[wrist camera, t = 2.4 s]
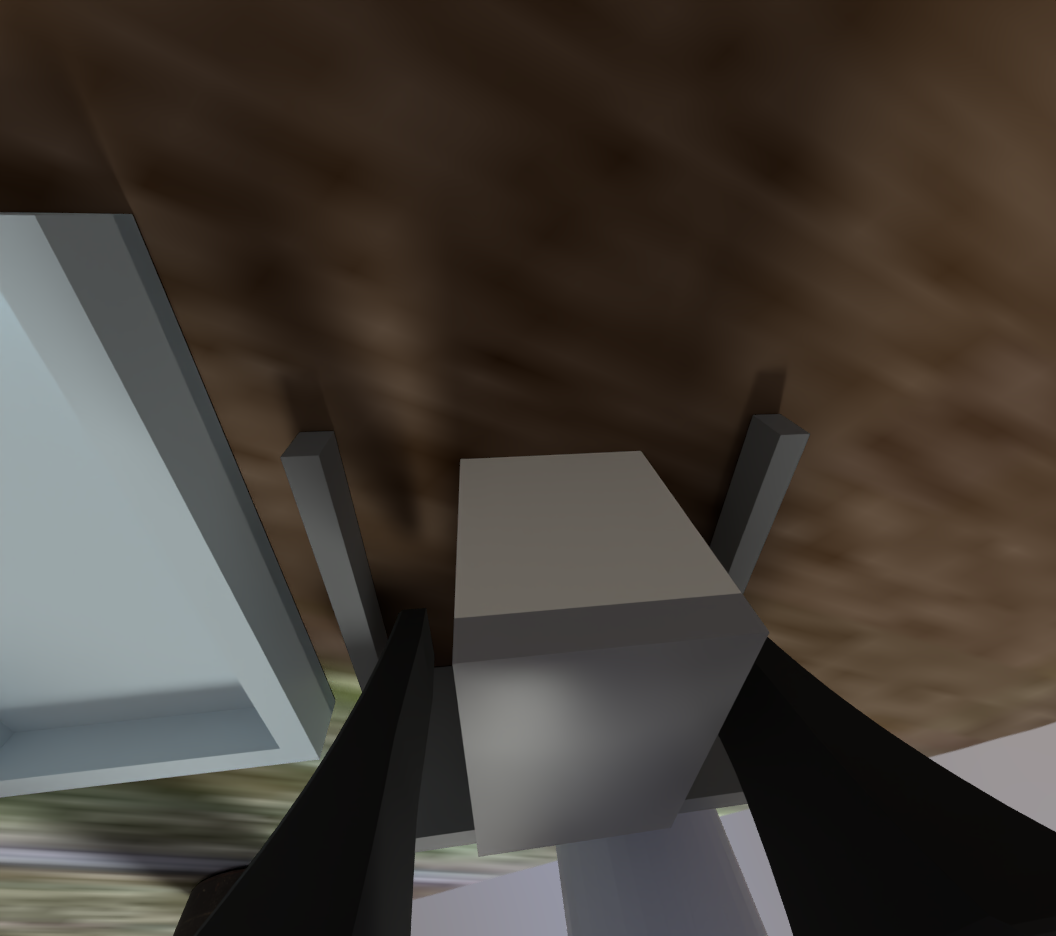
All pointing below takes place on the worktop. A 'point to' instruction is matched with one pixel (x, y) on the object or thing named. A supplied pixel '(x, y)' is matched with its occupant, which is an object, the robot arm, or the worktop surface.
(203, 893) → the container
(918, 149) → the worktop surface
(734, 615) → the block
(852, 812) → the robot arm
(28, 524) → the tray
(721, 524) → the bay
